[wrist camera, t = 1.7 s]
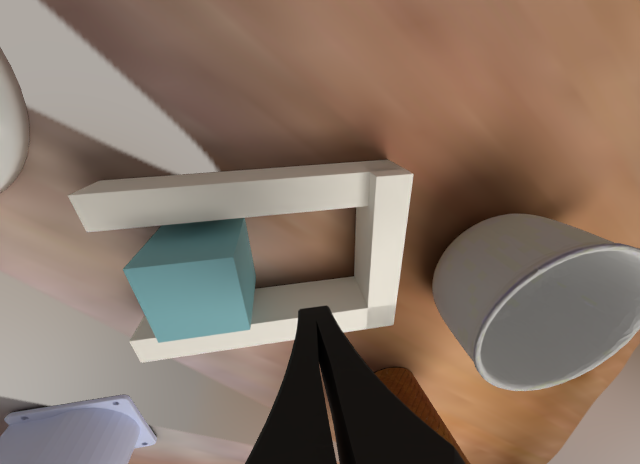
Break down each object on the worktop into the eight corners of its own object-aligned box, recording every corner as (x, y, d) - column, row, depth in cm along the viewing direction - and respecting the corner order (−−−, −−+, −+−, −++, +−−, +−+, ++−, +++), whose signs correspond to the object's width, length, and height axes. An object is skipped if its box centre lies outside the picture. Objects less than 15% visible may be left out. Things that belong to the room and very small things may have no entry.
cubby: (162, 321, 20) (141, 362, 17) (99, 180, 15) (51, 203, 12) (376, 292, 22) (393, 325, 19) (387, 159, 17) (413, 173, 13)
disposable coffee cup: (438, 353, 27) (542, 517, 16) (414, 406, 31) (485, 564, 21) (350, 359, 25) (403, 546, 15) (338, 415, 30) (372, 591, 19)
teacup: (409, 315, 24) (465, 407, 17) (420, 206, 19) (507, 273, 12) (547, 288, 25) (654, 364, 18) (593, 179, 20) (769, 225, 13)
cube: (186, 285, 19) (158, 342, 14) (163, 223, 16) (122, 269, 12) (256, 276, 19) (250, 329, 15) (244, 215, 17) (233, 257, 13)
